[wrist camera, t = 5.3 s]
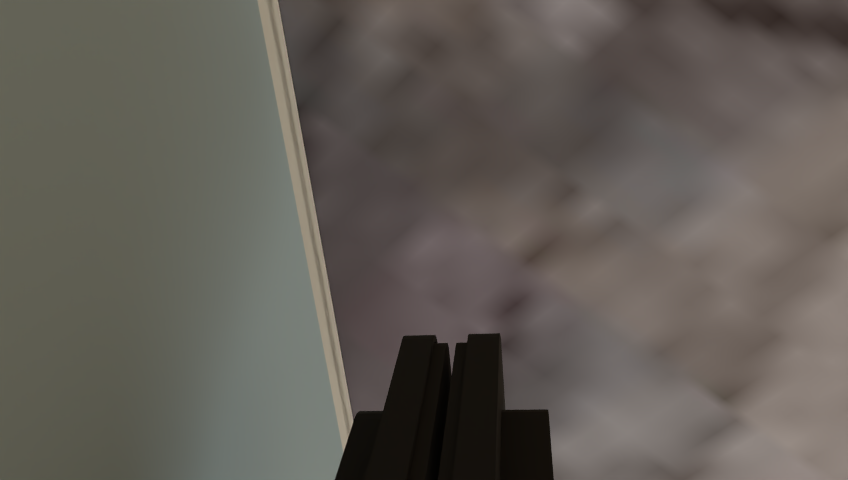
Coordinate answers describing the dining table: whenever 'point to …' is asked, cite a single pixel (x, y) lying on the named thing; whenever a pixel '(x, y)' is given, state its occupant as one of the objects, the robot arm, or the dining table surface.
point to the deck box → (306, 209)
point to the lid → (152, 251)
